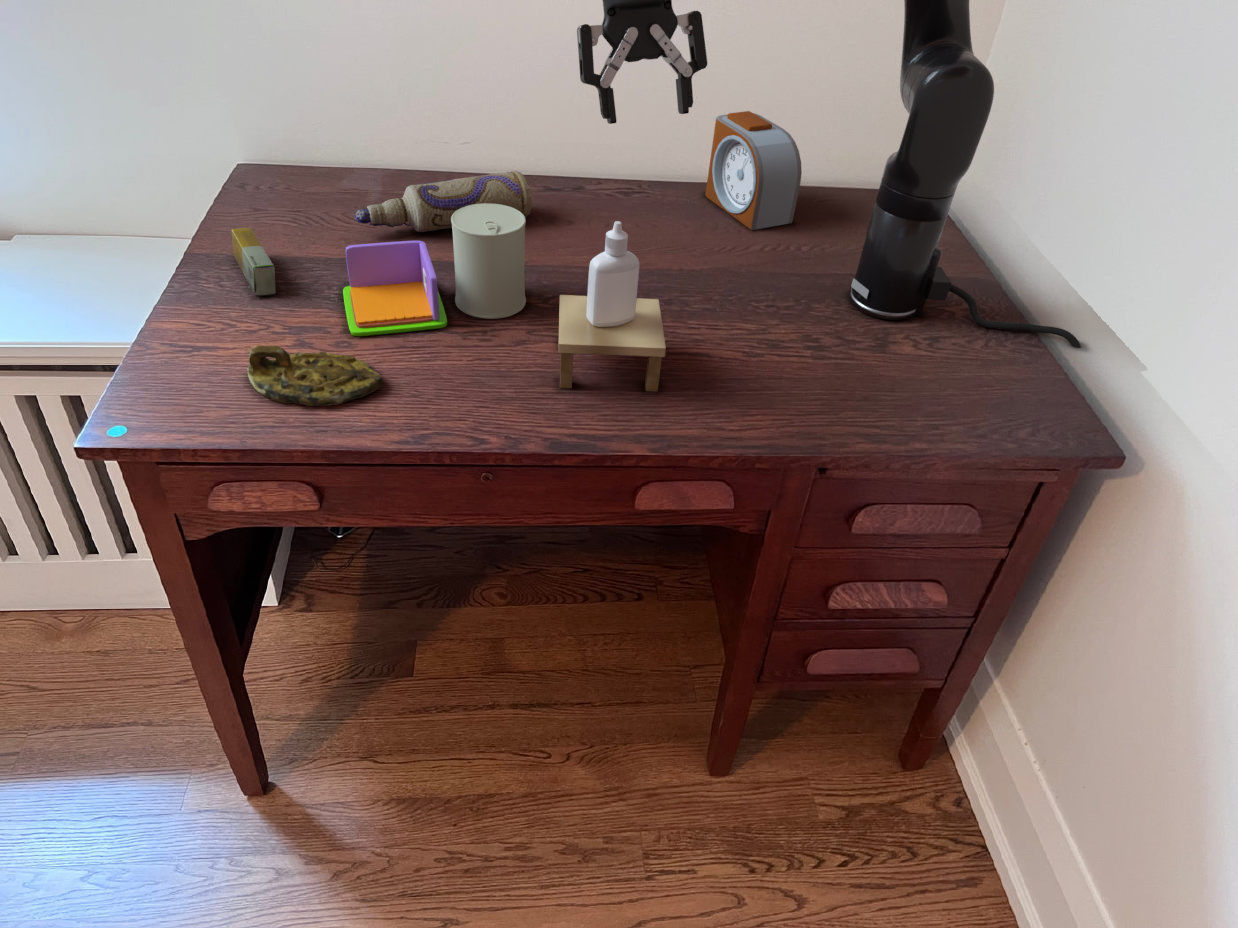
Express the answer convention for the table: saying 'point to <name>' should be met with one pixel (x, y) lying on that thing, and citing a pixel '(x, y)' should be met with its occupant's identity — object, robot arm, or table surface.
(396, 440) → the table surface
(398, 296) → the dollhouse room
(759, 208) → the alarm clock
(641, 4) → the robot arm
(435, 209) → the decorative bottle
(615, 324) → the eye dropper bottle
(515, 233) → the can
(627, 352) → the stand
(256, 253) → the medication box
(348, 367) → the seal
